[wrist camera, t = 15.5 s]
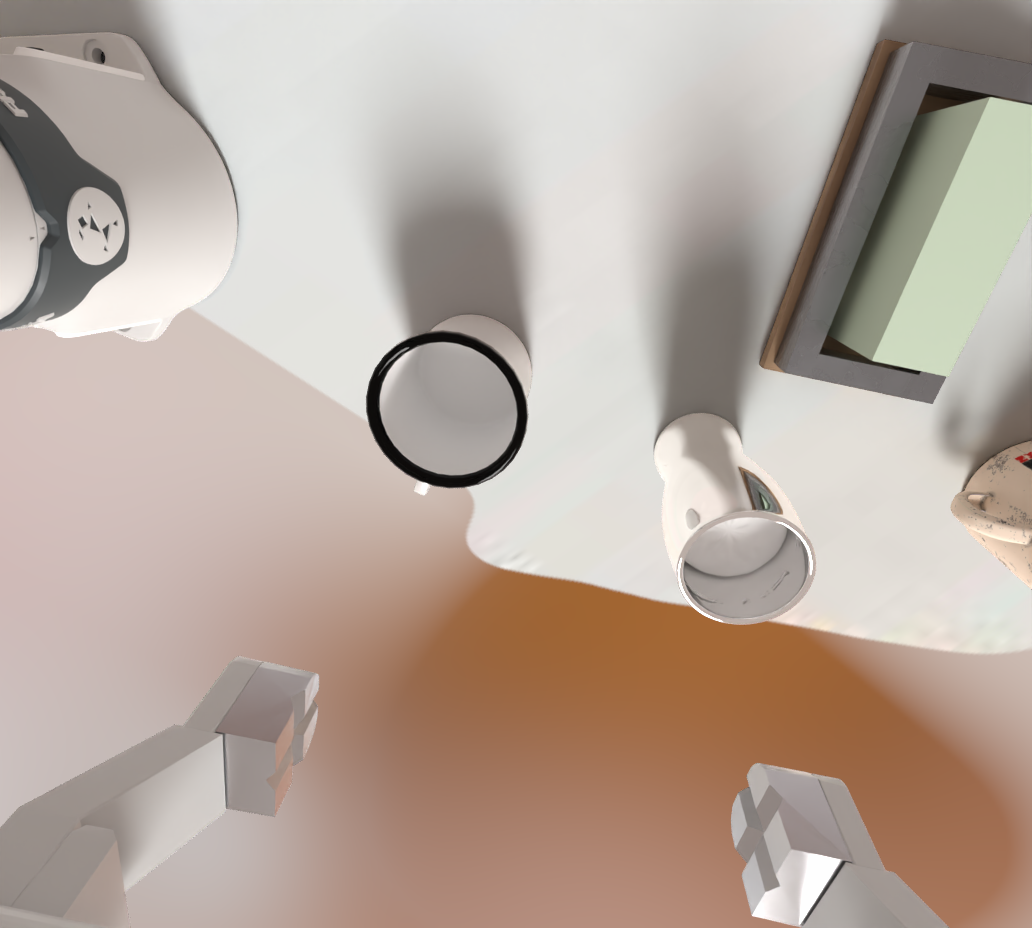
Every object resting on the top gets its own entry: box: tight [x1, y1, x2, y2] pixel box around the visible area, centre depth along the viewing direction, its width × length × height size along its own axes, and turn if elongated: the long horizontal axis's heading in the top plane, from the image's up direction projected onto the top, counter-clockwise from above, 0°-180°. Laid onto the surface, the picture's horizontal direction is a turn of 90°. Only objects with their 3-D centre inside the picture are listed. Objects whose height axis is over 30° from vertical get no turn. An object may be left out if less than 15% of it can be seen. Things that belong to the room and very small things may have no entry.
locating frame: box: [759, 39, 1032, 404], centre depth 34 cm, size 10×18×4 cm, turn 170°
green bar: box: [827, 97, 1032, 377], centre depth 32 cm, size 12×4×7 cm, turn 169°
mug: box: [366, 314, 532, 495], centre depth 39 cm, size 12×10×9 cm
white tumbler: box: [654, 413, 816, 624], centre depth 36 cm, size 7×7×15 cm
